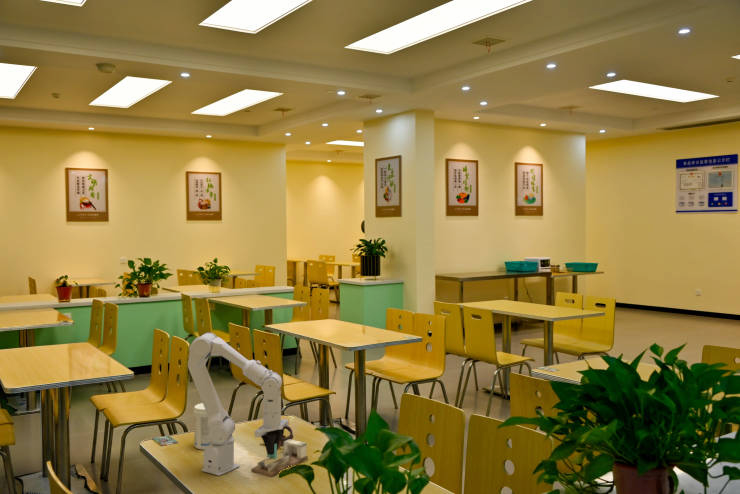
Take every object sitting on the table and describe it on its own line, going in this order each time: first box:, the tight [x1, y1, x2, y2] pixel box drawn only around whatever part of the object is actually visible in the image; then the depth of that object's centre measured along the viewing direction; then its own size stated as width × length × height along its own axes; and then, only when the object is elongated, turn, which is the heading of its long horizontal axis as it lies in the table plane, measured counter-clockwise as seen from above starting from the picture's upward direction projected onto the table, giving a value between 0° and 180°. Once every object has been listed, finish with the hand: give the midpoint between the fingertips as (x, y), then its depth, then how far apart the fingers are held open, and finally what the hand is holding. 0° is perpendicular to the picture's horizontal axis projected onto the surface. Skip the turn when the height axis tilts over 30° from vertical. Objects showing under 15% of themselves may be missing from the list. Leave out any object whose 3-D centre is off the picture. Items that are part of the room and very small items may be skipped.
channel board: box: [251, 453, 309, 478], centre depth 210 cm, size 19×8×3 cm, turn 148°
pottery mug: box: [278, 425, 294, 450], centre depth 230 cm, size 12×10×8 cm
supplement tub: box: [193, 402, 211, 451], centre depth 228 cm, size 10×10×15 cm
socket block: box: [283, 439, 308, 459], centre depth 217 cm, size 3×7×4 cm, turn 58°
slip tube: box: [261, 443, 292, 469], centre depth 209 cm, size 12×3×7 cm, turn 148°
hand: (272, 453), depth 206 cm, fingers closed on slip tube
